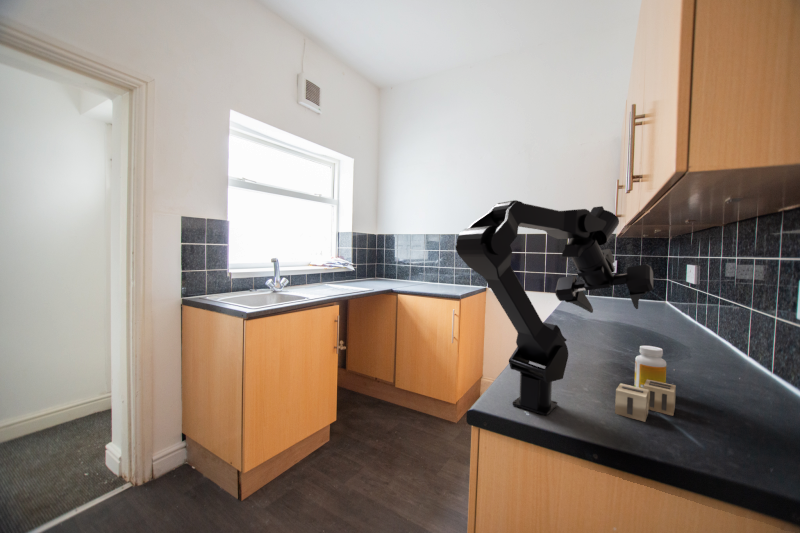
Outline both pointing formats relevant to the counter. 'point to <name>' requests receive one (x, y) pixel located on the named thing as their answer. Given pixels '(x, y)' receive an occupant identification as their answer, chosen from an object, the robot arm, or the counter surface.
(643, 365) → the supplement bottle
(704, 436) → the counter surface
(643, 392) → the oak block one
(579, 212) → the robot arm
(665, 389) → the birch block two
